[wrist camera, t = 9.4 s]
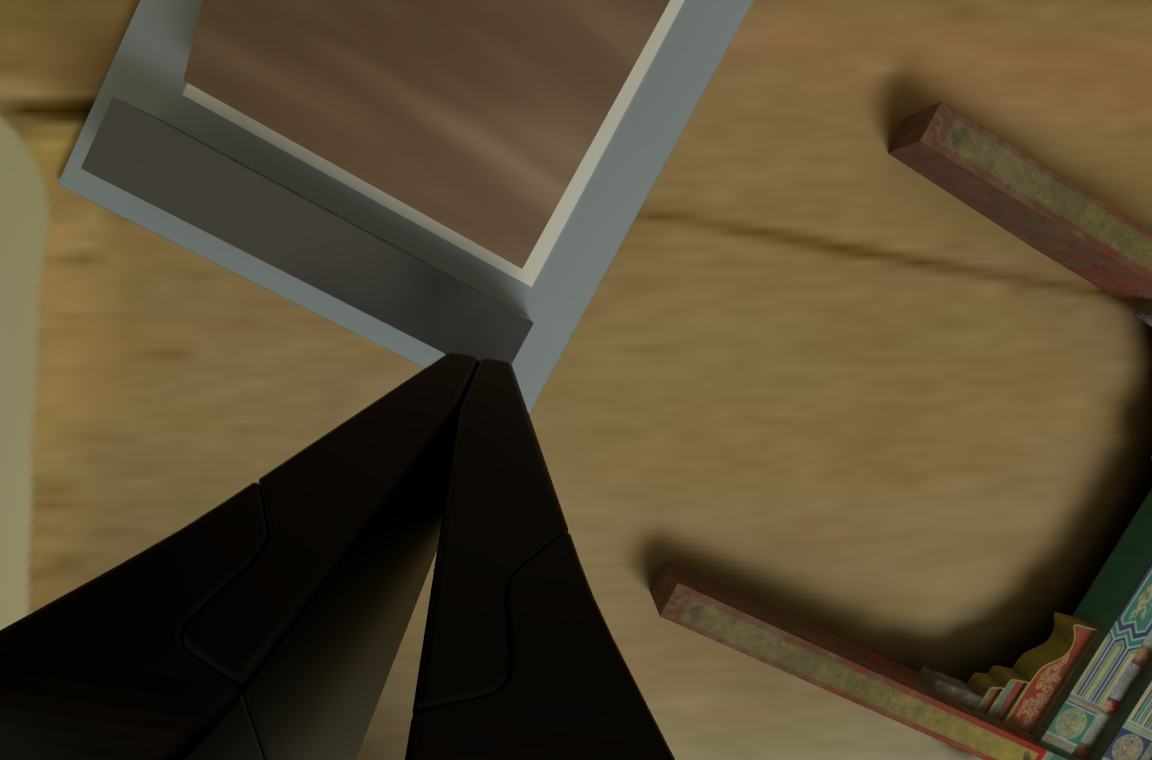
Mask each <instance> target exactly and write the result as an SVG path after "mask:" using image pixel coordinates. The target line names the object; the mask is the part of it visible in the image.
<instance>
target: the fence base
mask: <svg viewBox="0 0 1152 760" xmlns="http://www.w3.org/2000/svg"><path fill="white" fill-rule="evenodd" d="M81 169H83V170H85V171H87V172H89V173H91V174H93V175H95V176H97V177H98V178H100V179H102V180H104V181H106V182H108V183H110V184H112V185H114V186H116V187H118V188H120V189H122V190H124V191H126V192H128V193H130V194H132V195H134V196H136V197H138V198H140V199H142V200H144V201H146V202H148V203H150V204H152V205H154V206H156V207H157V208H159V209H161V210H163V211H165V212H167V213H169V214H171V215H173V216H175V217H177V218H179V219H181V220H183V221H185V222H187V223H189V224H191V225H193V226H195V227H197V228H199V229H201V230H203V231H205V232H207V233H209V234H211V235H213V236H215V237H217V238H218V239H220V240H222V241H224V242H226V243H228V244H230V245H232V246H234V247H236V248H238V249H240V250H242V251H244V252H246V253H248V254H250V255H252V256H254V257H256V258H258V259H260V260H262V261H264V262H266V263H268V264H270V265H272V266H274V267H276V268H278V269H279V270H281V271H283V272H285V273H287V274H289V275H291V276H293V277H295V278H297V279H299V280H301V281H303V282H305V283H307V284H309V285H311V286H313V287H315V288H317V289H319V290H321V291H323V292H325V293H327V294H329V295H331V296H333V297H335V298H337V299H339V300H340V301H342V302H344V303H346V304H348V305H350V306H352V307H354V308H356V309H358V310H360V311H362V312H364V313H366V314H368V315H370V316H372V317H374V318H376V319H378V320H380V321H382V322H384V323H386V324H388V325H390V326H392V327H394V328H396V329H398V330H400V331H401V332H403V333H405V334H407V335H409V336H411V337H413V338H415V339H417V340H419V341H421V342H423V343H425V344H427V345H429V346H431V347H433V348H435V349H437V350H439V351H441V352H443V353H445V354H448V353H450V352H456V353H462V354H468V355H474V356H477V357H478V358H479V360H481V359H483V358H491V359H497V360H503V361H508V362H510V363H511V365H512V363H513V361H514V359H515V357H516V355H517V353H518V352H519V350H520V348H521V346H522V344H523V342H524V340H525V339H526V337H527V335H528V333H529V331H530V329H531V327H532V325H533V324H534V322H533V321H532V320H531V319H530V318H529V317H527V316H525V315H523V314H521V313H519V312H518V311H516V310H514V309H512V308H510V307H508V306H506V305H505V304H503V303H501V302H499V301H497V300H495V299H493V298H492V297H490V296H488V295H486V294H484V293H482V292H480V291H479V290H477V289H475V288H473V287H471V286H469V285H467V284H466V283H464V282H462V281H460V280H458V279H456V278H454V277H453V276H451V275H449V274H447V273H445V272H443V271H441V270H440V269H438V268H436V267H434V266H432V265H430V264H429V263H427V262H425V261H423V260H421V259H419V258H417V257H416V256H414V255H412V254H410V253H408V252H406V251H404V250H403V249H401V248H399V247H397V246H395V245H393V244H391V243H390V242H388V241H386V240H384V239H382V238H380V237H378V236H377V235H375V234H373V233H371V232H369V231H367V230H365V229H364V228H362V227H360V226H358V225H356V224H354V223H352V222H351V221H349V220H347V219H345V218H343V217H341V216H339V215H338V214H336V213H334V212H332V211H330V210H328V209H326V208H325V207H323V206H321V205H319V204H317V203H315V202H313V201H312V200H310V199H308V198H306V197H304V196H302V195H300V194H299V193H297V192H295V191H293V190H291V189H289V188H288V187H286V186H284V185H282V184H280V183H278V182H276V181H275V180H273V179H271V178H269V177H267V176H265V175H263V174H262V173H260V172H258V171H256V170H254V169H252V168H250V167H249V166H247V165H245V164H243V163H241V162H239V161H237V160H236V159H234V158H232V157H230V156H228V155H226V154H224V153H223V152H221V151H219V150H217V149H215V148H213V147H211V146H210V145H208V144H206V143H204V142H202V141H200V140H198V139H197V138H195V137H193V136H191V135H189V134H187V133H185V132H184V131H182V130H180V129H178V128H176V127H174V126H172V125H171V124H169V123H167V122H165V121H163V120H161V119H160V118H158V117H156V116H154V115H152V114H149V113H147V112H145V111H143V110H141V109H139V108H137V107H135V106H132V105H130V104H128V103H126V102H124V101H122V100H120V99H117V98H115V97H113V98H112V100H111V102H110V104H109V107H108V109H107V111H106V113H105V116H104V118H103V120H102V122H101V124H100V127H99V129H98V131H97V133H96V135H95V138H94V140H93V142H92V144H91V147H90V149H89V151H88V153H87V155H86V158H85V160H84V162H83V164H82V166H81Z"/></svg>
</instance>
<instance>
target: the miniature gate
mask: <svg viewBox="0 0 1152 760" xmlns="http://www.w3.org/2000/svg"><path fill="white" fill-rule="evenodd" d="M889 154H890V155H892V156H893V157H895V158H896V159H898V160H899V161H901V162H902V163H904V164H906V165H907V166H909V167H910V168H912V169H913V170H915V171H916V172H918V173H919V174H921V175H922V176H924V177H925V178H927V179H929V180H930V181H932V182H933V183H935V184H936V185H938V186H939V187H941V188H942V189H944V190H945V191H947V192H948V193H950V194H952V195H953V196H955V197H956V198H958V199H959V200H961V201H962V202H964V203H965V204H967V205H968V206H970V207H971V208H973V209H975V210H976V211H978V212H979V213H981V214H982V215H984V216H985V217H987V218H988V219H990V220H991V221H993V222H995V223H996V224H998V225H999V226H1001V227H1002V228H1004V229H1005V230H1007V231H1008V232H1010V233H1011V234H1013V235H1014V236H1016V237H1018V238H1019V239H1021V240H1022V241H1024V242H1025V243H1027V244H1028V245H1030V246H1031V247H1033V248H1034V249H1036V250H1038V251H1039V252H1041V253H1043V254H1044V255H1046V256H1048V257H1050V258H1051V259H1053V260H1055V261H1056V262H1058V263H1060V264H1061V265H1063V266H1065V267H1066V268H1068V269H1070V270H1071V271H1073V272H1075V273H1076V274H1078V275H1080V276H1081V277H1083V278H1085V279H1086V280H1088V281H1090V282H1092V283H1093V284H1095V285H1097V286H1098V287H1100V288H1102V289H1103V290H1105V291H1107V292H1108V293H1110V294H1112V295H1113V296H1115V297H1117V298H1118V299H1120V300H1122V301H1123V302H1125V303H1127V304H1128V305H1130V306H1132V307H1134V308H1135V309H1137V310H1136V312H1135V314H1134V316H1136V317H1137V318H1139V319H1140V320H1142V321H1143V322H1145V323H1146V324H1148V325H1149V326H1151V327H1152V232H1150V231H1149V230H1147V229H1146V228H1144V227H1142V226H1141V225H1139V224H1138V223H1136V222H1134V221H1133V220H1131V219H1130V218H1128V217H1126V216H1125V215H1123V214H1121V213H1120V212H1118V211H1117V210H1115V209H1113V208H1112V207H1110V206H1109V205H1107V204H1105V203H1104V202H1102V201H1100V200H1099V199H1097V198H1096V197H1094V196H1092V195H1091V194H1089V193H1088V192H1086V191H1084V190H1083V189H1081V188H1080V187H1078V186H1076V185H1075V184H1073V183H1071V182H1070V181H1068V180H1067V179H1065V178H1063V177H1062V176H1060V175H1059V174H1057V173H1055V172H1054V171H1052V170H1051V169H1049V168H1047V167H1046V166H1044V165H1042V164H1041V163H1039V162H1038V161H1036V160H1034V159H1033V158H1031V157H1030V156H1028V155H1026V154H1025V153H1023V152H1022V151H1020V150H1018V149H1017V148H1015V147H1013V146H1012V145H1010V144H1009V143H1007V142H1005V141H1004V140H1002V139H1001V138H999V137H997V136H996V135H994V134H993V133H991V132H989V131H988V130H986V129H984V128H983V127H981V126H980V125H978V124H976V123H975V122H973V121H972V120H970V119H968V118H967V117H965V116H964V115H962V114H960V113H959V112H957V111H955V110H954V109H952V108H951V107H949V106H947V105H946V104H944V103H943V102H940V103H938V104H936V105H933V106H931V107H929V108H927V109H925V110H922V111H920V112H918V113H916V114H914V115H912V116H909V117H908V118H907V120H906V121H905V123H904V125H903V127H902V129H901V131H900V132H899V134H898V136H897V138H896V140H895V142H894V144H893V145H892V147H891V149H890V151H889ZM1151 459H1152V456H1151ZM650 593H651V595H652V598H653V600H654V603H655V605H656V607H657V610H658V612H659V615H660V616H661V617H663V618H665V619H668V620H670V621H672V622H674V623H677V624H679V625H681V626H683V627H686V628H688V629H690V630H692V631H695V632H697V633H699V634H701V635H704V636H706V637H708V638H710V639H713V640H715V641H717V642H719V643H722V644H724V645H726V646H729V647H731V648H733V649H735V650H738V651H740V652H742V653H744V654H747V655H749V656H751V657H753V658H756V659H758V660H760V661H762V662H765V663H767V664H769V665H771V666H774V667H776V668H778V669H780V670H783V671H785V672H787V673H789V674H792V675H794V676H796V677H798V678H801V679H803V680H805V681H807V682H810V683H812V684H814V685H816V686H819V687H821V688H823V689H825V690H828V691H830V692H832V693H834V694H837V695H839V696H841V697H843V698H846V699H848V700H850V701H852V702H855V703H857V704H859V705H861V706H864V707H866V708H868V709H870V710H873V711H875V712H877V713H879V714H882V715H884V716H886V717H888V718H891V719H893V720H895V721H897V722H900V723H902V724H904V725H906V726H909V727H911V728H913V729H915V730H918V731H920V732H922V733H924V734H927V735H929V736H931V737H933V738H936V739H938V740H940V741H943V742H945V743H947V744H949V745H952V746H954V747H956V748H958V749H961V750H963V751H965V752H967V753H970V754H972V755H974V756H976V757H979V758H981V759H983V760H1152V488H1151V490H1150V491H1149V493H1148V495H1147V496H1146V498H1145V500H1144V501H1143V503H1142V504H1141V506H1140V508H1139V509H1138V511H1137V512H1136V514H1135V516H1134V517H1133V519H1132V520H1131V522H1130V524H1129V525H1128V527H1127V528H1126V530H1125V532H1124V533H1123V535H1122V536H1121V538H1120V540H1119V541H1118V543H1117V545H1116V546H1115V548H1114V549H1113V551H1112V553H1111V554H1110V556H1109V557H1108V559H1107V561H1106V562H1105V564H1104V565H1103V567H1102V569H1101V570H1100V572H1099V573H1098V575H1097V577H1096V578H1095V580H1094V581H1093V583H1092V585H1091V586H1090V588H1089V590H1088V591H1087V593H1086V594H1085V596H1084V598H1083V599H1082V601H1081V602H1080V604H1079V606H1078V607H1077V609H1076V610H1075V612H1074V614H1073V615H1072V616H1069V615H1066V614H1062V613H1058V612H1055V613H1054V621H1055V622H1054V629H1053V632H1052V634H1051V636H1050V638H1049V639H1048V640H1047V641H1046V642H1045V643H1043V644H1042V645H1040V646H1038V647H1036V648H1033V649H1031V650H1029V651H1027V652H1025V653H1024V654H1022V655H1021V657H1020V658H1019V659H1018V660H1017V662H1016V663H1015V665H1014V666H1013V668H1008V667H1003V666H998V665H994V666H992V667H991V669H990V671H989V672H988V674H987V673H974V674H973V675H972V676H971V678H970V680H969V681H968V683H966V682H963V681H961V680H958V679H956V678H953V677H951V676H948V675H946V674H943V673H941V672H938V671H936V670H933V669H931V668H928V667H926V666H923V667H922V668H921V670H920V672H917V671H915V670H913V669H910V668H908V667H906V666H904V665H902V664H900V663H897V662H895V661H893V660H891V659H889V658H887V657H884V656H882V655H880V654H878V653H876V652H874V651H871V650H869V649H867V648H865V647H863V646H860V645H858V644H856V643H854V642H852V641H850V640H847V639H845V638H843V637H841V636H839V635H837V634H834V633H832V632H830V631H828V630H826V629H823V628H821V627H819V626H816V625H814V624H812V623H809V622H807V621H805V620H802V619H800V618H798V617H795V616H793V615H791V614H789V613H786V612H784V611H782V610H779V609H777V608H775V607H772V606H770V605H768V604H765V603H763V602H761V601H758V600H756V599H754V598H751V597H749V596H747V595H744V594H742V593H740V592H737V591H735V590H733V589H730V588H728V587H726V586H723V585H721V584H719V583H716V582H714V581H712V580H709V579H707V578H705V577H702V576H700V575H698V574H695V573H693V572H691V571H689V570H686V569H684V568H682V567H679V566H677V565H675V564H672V563H670V562H668V561H667V562H666V564H665V566H664V568H663V570H662V572H661V573H660V575H659V577H658V579H657V581H656V583H655V584H654V586H653V588H652V590H651V592H650Z"/></svg>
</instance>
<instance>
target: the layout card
mask: <svg viewBox="0 0 1152 760" xmlns="http://www.w3.org/2000/svg"><path fill="white" fill-rule="evenodd" d="M752 2H753V0H670V2H669V4H668V5H667V7H666V9H665V11H664V13H663V14H662V16H661V18H660V20H659V22H658V24H657V25H656V27H655V29H654V31H653V33H652V34H651V36H650V38H649V40H648V42H647V43H646V45H645V47H644V49H643V51H642V53H641V54H640V56H639V58H638V60H637V62H636V63H635V65H634V67H633V69H632V71H631V73H630V74H629V76H628V78H627V80H626V82H625V83H624V85H623V87H622V89H621V91H620V93H619V94H618V96H617V98H616V100H615V102H614V103H613V105H612V107H611V109H610V111H609V113H608V114H607V116H606V118H605V120H604V122H603V123H602V125H601V127H600V129H599V131H598V133H597V134H596V136H595V138H594V140H593V142H592V143H591V145H590V147H589V149H588V151H587V152H586V154H585V156H584V158H583V160H582V162H581V163H580V165H579V167H578V169H577V171H576V172H575V174H574V176H573V178H572V180H571V182H570V183H569V185H568V187H567V189H566V191H565V192H564V194H563V196H562V198H561V200H560V202H559V203H558V205H557V207H556V209H555V211H554V212H553V214H552V216H551V218H550V220H549V222H548V223H547V225H546V227H545V229H544V231H543V232H542V234H541V236H540V238H539V240H538V242H537V243H536V245H535V247H534V249H533V251H532V252H531V254H530V256H529V258H528V260H527V261H526V263H525V265H524V267H523V269H521V268H519V267H518V266H516V265H514V264H512V263H510V262H509V261H507V260H505V259H503V258H501V257H500V256H498V255H496V254H494V253H492V252H491V251H489V250H487V249H485V248H483V247H482V246H480V245H478V244H476V243H474V242H473V241H471V240H469V239H467V238H465V237H464V236H462V235H460V234H458V233H456V232H455V231H453V230H451V229H449V228H447V227H446V226H444V225H442V224H440V223H438V222H437V221H435V220H433V219H431V218H429V217H428V216H426V215H424V214H422V213H420V212H419V211H417V210H415V209H413V208H411V207H410V206H408V205H406V204H404V203H403V202H401V201H399V200H397V199H395V198H394V197H392V196H390V195H388V194H386V193H385V192H383V191H381V190H379V189H377V188H376V187H374V186H372V185H370V184H368V183H367V182H365V181H363V180H361V179H359V178H358V177H356V176H354V175H352V174H350V173H349V172H347V171H345V170H343V169H341V168H340V167H338V166H336V165H334V164H332V163H331V162H329V161H327V160H325V159H323V158H322V157H320V156H318V155H316V154H314V153H313V152H311V151H309V150H307V149H305V148H304V147H302V146H300V145H298V144H297V143H295V142H293V141H291V140H289V139H288V138H286V137H284V136H282V135H280V134H279V133H277V132H275V131H273V130H271V129H270V128H268V127H266V126H264V125H262V124H261V123H259V122H257V121H255V120H253V119H252V118H250V117H248V116H246V115H244V114H243V113H241V112H239V111H237V110H235V109H234V108H232V107H230V106H228V105H226V104H225V103H223V102H221V101H219V100H217V99H216V98H214V97H212V96H210V95H208V94H207V93H205V92H203V91H201V90H199V89H198V88H196V87H194V86H192V85H190V84H189V83H187V82H185V81H183V79H184V75H185V71H186V67H187V63H188V59H189V55H190V51H191V47H192V43H193V39H194V35H195V31H196V27H197V23H198V19H199V15H200V11H201V7H202V3H203V0H140V2H139V4H138V6H137V9H136V11H135V13H134V15H133V17H132V20H131V22H130V24H129V26H128V29H127V31H126V33H125V35H124V37H123V40H122V42H121V44H120V46H119V49H118V51H117V53H116V55H115V57H114V60H113V62H112V64H111V66H110V69H109V71H108V73H107V75H106V78H105V80H104V82H103V84H102V86H101V89H100V91H99V93H98V95H97V98H96V100H95V102H94V104H93V106H92V109H91V111H90V113H89V115H88V118H87V120H86V122H85V124H84V126H83V129H82V131H81V133H80V135H79V138H78V140H77V142H76V144H75V147H74V149H73V151H72V153H71V155H70V158H69V160H68V162H67V164H66V167H65V169H64V171H63V173H62V175H61V178H60V180H59V182H58V185H60V186H62V187H64V188H66V189H68V190H70V191H72V192H74V193H76V194H78V195H80V196H82V197H84V198H86V199H88V200H90V201H92V202H94V203H96V204H98V205H100V206H102V207H104V208H106V209H108V210H110V211H112V212H114V213H116V214H118V215H120V216H122V217H124V218H126V219H128V220H130V221H132V222H134V223H136V224H138V225H140V226H142V227H144V228H146V229H148V230H150V231H152V232H154V233H156V234H158V235H160V236H162V237H164V238H166V239H168V240H170V241H172V242H174V243H176V244H178V245H180V246H182V247H184V248H186V249H188V250H190V251H192V252H194V253H196V254H198V255H200V256H202V257H204V258H206V259H208V260H210V261H212V262H214V263H216V264H218V265H220V266H222V267H224V268H226V269H228V270H230V271H232V272H234V273H236V274H238V275H240V276H242V277H244V278H246V279H248V280H250V281H252V282H254V283H256V284H258V285H260V286H262V287H264V288H266V289H268V290H270V291H272V292H274V293H276V294H278V295H280V296H282V297H284V298H286V299H288V300H290V301H292V302H294V303H296V304H298V305H300V306H302V307H304V308H306V309H308V310H310V311H312V312H314V313H316V314H318V315H320V316H322V317H324V318H326V319H328V320H330V321H332V322H334V323H336V324H338V325H340V326H342V327H344V328H346V329H348V330H350V331H352V332H354V333H357V334H359V335H361V336H363V337H365V338H367V339H369V340H371V341H373V342H375V343H377V344H379V345H381V346H383V347H385V348H387V349H389V350H391V351H393V352H395V353H397V354H399V355H401V356H403V357H405V358H407V359H409V360H411V361H413V362H415V363H417V364H419V365H421V366H423V367H425V368H427V367H428V366H430V365H431V364H433V363H434V362H436V361H437V360H439V359H440V358H442V357H443V356H445V355H446V354H445V353H443V352H441V351H439V350H437V349H435V348H433V347H431V346H429V345H427V344H425V343H423V342H421V341H419V340H417V339H415V338H413V337H411V336H409V335H407V334H405V333H403V332H401V331H400V330H398V329H396V328H394V327H392V326H390V325H388V324H386V323H384V322H382V321H380V320H378V319H376V318H374V317H372V316H370V315H368V314H366V313H364V312H362V311H360V310H358V309H356V308H354V307H352V306H350V305H348V304H346V303H344V302H342V301H340V300H339V299H337V298H335V297H333V296H331V295H329V294H327V293H325V292H323V291H321V290H319V289H317V288H315V287H313V286H311V285H309V284H307V283H305V282H303V281H301V280H299V279H297V278H295V277H293V276H291V275H289V274H287V273H285V272H283V271H281V270H279V269H278V268H276V267H274V266H272V265H270V264H268V263H266V262H264V261H262V260H260V259H258V258H256V257H254V256H252V255H250V254H248V253H246V252H244V251H242V250H240V249H238V248H236V247H234V246H232V245H230V244H228V243H226V242H224V241H222V240H220V239H218V238H217V237H215V236H213V235H211V234H209V233H207V232H205V231H203V230H201V229H199V228H197V227H195V226H193V225H191V224H189V223H187V222H185V221H183V220H181V219H179V218H177V217H175V216H173V215H171V214H169V213H167V212H165V211H163V210H161V209H159V208H157V207H156V206H154V205H152V204H150V203H148V202H146V201H144V200H142V199H140V198H138V197H136V196H134V195H132V194H130V193H128V192H126V191H124V190H122V189H120V188H118V187H116V186H114V185H112V184H110V183H108V182H106V181H104V180H102V179H100V178H98V177H97V176H95V175H93V174H91V173H89V172H87V171H85V170H83V169H81V166H82V164H83V162H84V160H85V158H86V155H87V153H88V151H89V149H90V147H91V144H92V142H93V140H94V138H95V135H96V133H97V131H98V129H99V127H100V124H101V122H102V120H103V118H104V116H105V113H106V111H107V109H108V107H109V104H110V102H111V100H112V98H113V97H115V98H117V99H120V100H122V101H124V102H126V103H128V104H130V105H132V106H135V107H137V108H139V109H141V110H143V111H145V112H147V113H149V114H152V115H154V116H156V117H158V118H160V119H161V120H163V121H165V122H167V123H169V124H171V125H172V126H174V127H176V128H178V129H180V130H182V131H184V132H185V133H187V134H189V135H191V136H193V137H195V138H197V139H198V140H200V141H202V142H204V143H206V144H208V145H210V146H211V147H213V148H215V149H217V150H219V151H221V152H223V153H224V154H226V155H228V156H230V157H232V158H234V159H236V160H237V161H239V162H241V163H243V164H245V165H247V166H249V167H250V168H252V169H254V170H256V171H258V172H260V173H262V174H263V175H265V176H267V177H269V178H271V179H273V180H275V181H276V182H278V183H280V184H282V185H284V186H286V187H288V188H289V189H291V190H293V191H295V192H297V193H299V194H300V195H302V196H304V197H306V198H308V199H310V200H312V201H313V202H315V203H317V204H319V205H321V206H323V207H325V208H326V209H328V210H330V211H332V212H334V213H336V214H338V215H339V216H341V217H343V218H345V219H347V220H349V221H351V222H352V223H354V224H356V225H358V226H360V227H362V228H364V229H365V230H367V231H369V232H371V233H373V234H375V235H377V236H378V237H380V238H382V239H384V240H386V241H388V242H390V243H391V244H393V245H395V246H397V247H399V248H401V249H403V250H404V251H406V252H408V253H410V254H412V255H414V256H416V257H417V258H419V259H421V260H423V261H425V262H427V263H429V264H430V265H432V266H434V267H436V268H438V269H440V270H441V271H443V272H445V273H447V274H449V275H451V276H453V277H454V278H456V279H458V280H460V281H462V282H464V283H466V284H467V285H469V286H471V287H473V288H475V289H477V290H479V291H480V292H482V293H484V294H486V295H488V296H490V297H492V298H493V299H495V300H497V301H499V302H501V303H503V304H505V305H506V306H508V307H510V308H512V309H514V310H516V311H518V312H519V313H521V314H523V315H525V316H527V317H529V318H530V319H531V320H532V321H533V322H534V324H533V325H532V327H531V329H530V331H529V333H528V335H527V337H526V339H525V340H524V342H523V344H522V346H521V348H520V350H519V352H518V353H517V355H516V357H515V359H514V361H513V363H512V367H513V370H514V372H515V375H516V378H517V381H518V384H519V387H520V390H521V393H522V396H523V399H524V402H525V404H526V407H527V410H528V413H530V411H531V409H532V407H533V405H534V404H535V402H536V400H537V398H538V396H539V394H540V393H541V391H542V389H543V387H544V385H545V383H546V382H547V380H548V378H549V376H550V374H551V372H552V370H553V369H554V367H555V365H556V363H557V361H558V359H559V358H560V356H561V354H562V352H563V350H564V348H565V347H566V345H567V343H568V341H569V339H570V337H571V335H572V334H573V332H574V330H575V328H576V326H577V324H578V323H579V321H580V319H581V317H582V315H583V313H584V312H585V310H586V308H587V306H588V304H589V302H590V301H591V299H592V297H593V295H594V293H595V291H596V289H597V288H598V286H599V284H600V282H601V280H602V278H603V277H604V275H605V273H606V271H607V269H608V267H609V266H610V264H611V262H612V260H613V258H614V256H615V254H616V253H617V251H618V249H619V247H620V245H621V243H622V242H623V240H624V238H625V236H626V234H627V232H628V231H629V229H630V227H631V225H632V223H633V221H634V220H635V218H636V216H637V214H638V212H639V210H640V208H641V207H642V205H643V203H644V201H645V199H646V197H647V196H648V194H649V192H650V190H651V188H652V186H653V185H654V183H655V181H656V179H657V177H658V175H659V173H660V172H661V170H662V168H663V166H664V164H665V162H666V161H667V159H668V157H669V155H670V153H671V151H672V150H673V148H674V146H675V144H676V142H677V140H678V139H679V137H680V135H681V133H682V131H683V129H684V127H685V126H686V124H687V122H688V120H689V118H690V116H691V115H692V113H693V111H694V109H695V107H696V105H697V104H698V102H699V100H700V98H701V96H702V94H703V92H704V91H705V89H706V87H707V85H708V83H709V81H710V80H711V78H712V76H713V74H714V72H715V70H716V69H717V67H718V65H719V63H720V61H721V59H722V58H723V56H724V54H725V52H726V50H727V48H728V46H729V45H730V43H731V41H732V39H733V37H734V35H735V34H736V32H737V30H738V28H739V26H740V24H741V23H742V21H743V19H744V17H745V15H746V13H747V11H748V10H749V8H750V6H751V4H752Z"/></svg>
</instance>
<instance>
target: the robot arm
mask: <svg viewBox="0 0 1152 760" xmlns="http://www.w3.org/2000/svg"><path fill="white" fill-rule="evenodd" d="M436 551H437V555H436V562H435V568H434V575H433V581H432V588H431V595H430V601H429V608H428V614H427V621H426V627H425V634H424V641H423V647H422V654H421V660H420V667H419V673H418V680H417V686H416V693H415V700H414V706H413V718H412V721H411V726H410V732H409V739H408V745H407V751H406V757H405V760H675V758H674V756H673V755H672V753H671V751H670V749H669V747H668V745H667V743H666V741H665V739H664V737H663V735H662V733H661V731H660V729H659V727H658V725H657V724H656V722H655V720H654V718H653V716H652V714H651V712H650V710H649V708H648V706H647V704H646V702H645V700H644V698H643V696H642V694H641V692H640V690H639V688H638V686H637V684H636V682H635V680H634V678H633V676H632V674H631V672H630V671H629V669H628V667H627V665H626V663H625V661H624V659H623V657H622V655H621V653H620V651H619V649H618V647H617V645H616V643H615V641H614V639H613V637H612V635H611V633H610V631H609V629H608V626H607V624H606V622H605V620H604V618H603V616H602V614H601V612H600V609H599V607H598V605H597V603H596V601H595V599H594V597H593V594H592V592H591V589H590V586H589V584H588V581H587V579H586V576H585V573H584V571H583V568H582V566H581V563H580V561H579V558H578V555H577V552H576V549H575V546H574V543H573V540H572V538H571V535H570V534H569V533H568V527H567V524H566V521H565V518H564V515H563V512H562V509H561V506H560V504H559V501H558V498H557V495H556V492H555V489H554V486H553V483H552V480H551V477H550V474H549V471H548V469H547V466H546V463H545V460H544V457H543V454H542V451H541V448H540V445H539V442H538V439H537V437H536V434H535V431H534V428H533V425H532V422H531V419H530V416H529V413H528V410H527V407H526V404H525V402H524V399H523V396H522V393H521V390H520V387H519V384H518V381H517V378H516V375H515V372H514V370H513V367H512V365H511V363H510V362H508V361H503V360H497V359H491V358H483V359H481V360H479V358H478V357H477V356H474V355H468V354H462V353H456V352H450V353H448V354H446V355H445V356H443V357H442V358H440V359H439V360H437V361H436V362H434V363H433V364H431V365H430V366H428V367H427V368H425V369H424V370H422V371H421V372H419V373H418V374H416V375H415V376H413V377H412V378H410V379H409V380H407V381H406V382H404V383H403V384H401V385H400V386H398V387H397V388H395V389H394V390H392V391H391V392H389V393H388V394H386V395H385V396H383V397H382V398H380V399H378V400H377V401H375V402H374V403H372V404H371V405H369V406H368V407H366V408H365V409H363V410H362V411H360V412H359V413H357V414H356V415H354V416H353V417H351V418H350V419H348V420H347V421H345V422H344V423H342V424H341V425H339V426H338V427H336V428H335V429H333V430H332V431H330V432H329V433H327V434H326V435H324V436H323V437H321V438H320V439H318V440H317V441H315V442H314V443H312V444H311V445H309V446H308V447H306V448H305V449H303V450H302V451H300V452H299V453H297V454H296V455H294V456H293V457H291V458H290V459H288V460H287V461H285V462H284V463H282V464H281V465H279V466H278V467H276V468H275V469H273V470H272V471H270V472H269V473H267V474H266V475H264V476H263V477H261V478H260V479H259V484H257V483H252V484H250V485H249V486H247V487H246V488H244V489H243V490H241V491H240V492H238V493H237V494H235V495H234V496H232V497H231V498H229V499H228V500H226V501H225V502H223V503H222V504H220V505H219V506H217V507H215V508H214V509H212V510H211V511H209V512H208V513H206V514H204V515H203V516H201V517H200V518H198V519H196V520H195V521H193V522H192V523H190V524H189V525H187V526H185V527H184V528H182V529H181V530H179V531H177V532H176V533H174V534H172V535H170V536H169V537H167V538H165V539H163V540H162V541H160V542H158V543H156V544H155V545H153V546H151V547H150V548H148V549H146V550H144V551H143V552H141V553H139V554H137V555H136V556H134V557H132V558H130V559H129V560H127V561H125V562H123V563H122V564H120V565H118V566H116V567H114V568H113V569H111V570H109V571H107V572H105V573H104V574H102V575H100V576H98V577H96V578H94V579H93V580H91V581H89V582H87V583H85V584H84V585H82V586H80V587H78V588H76V589H75V590H73V591H71V592H69V593H67V594H65V595H64V596H62V597H60V598H58V599H56V600H55V601H53V602H51V603H49V604H47V605H46V606H44V607H42V608H40V609H38V610H36V611H35V612H33V613H31V614H29V615H27V616H26V617H24V618H22V619H20V620H18V621H17V622H15V623H13V624H11V625H9V626H7V627H6V628H4V629H2V630H0V760H356V757H357V754H358V752H359V749H360V747H361V744H362V742H363V739H364V736H365V734H366V731H367V729H368V726H369V724H370V721H371V718H372V716H373V713H374V711H375V708H376V705H377V703H378V700H379V698H380V695H381V693H382V690H383V687H384V685H385V682H386V680H387V677H388V675H389V672H390V669H391V667H392V664H393V662H394V659H395V657H396V654H397V651H398V649H399V646H400V644H401V641H402V639H403V636H404V633H405V631H406V628H407V626H408V623H409V621H410V618H411V615H412V613H413V610H414V608H415V605H416V603H417V600H418V597H419V595H420V592H421V590H422V587H423V585H424V582H425V579H426V577H427V574H428V572H429V569H430V567H431V564H432V561H433V559H434V556H435V554H436Z"/></svg>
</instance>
